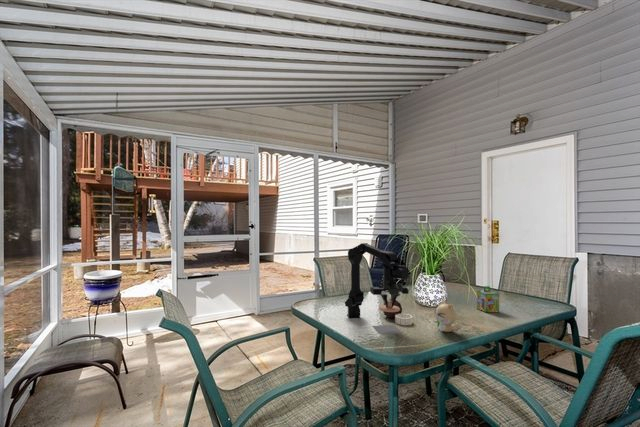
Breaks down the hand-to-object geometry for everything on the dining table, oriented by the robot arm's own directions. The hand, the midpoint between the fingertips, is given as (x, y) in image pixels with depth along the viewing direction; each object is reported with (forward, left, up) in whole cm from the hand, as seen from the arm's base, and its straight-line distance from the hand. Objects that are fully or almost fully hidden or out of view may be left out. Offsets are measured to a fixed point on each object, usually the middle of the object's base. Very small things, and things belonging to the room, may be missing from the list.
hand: (389, 307), depth 161 cm
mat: (-2, -1, -11) cm, 12 cm away
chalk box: (+72, +22, -12) cm, 76 cm away
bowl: (+11, +8, -11) cm, 18 cm away
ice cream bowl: (+12, +25, -7) cm, 29 cm away
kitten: (+27, -6, -12) cm, 30 cm away
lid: (0, 0, -1) cm, 1 cm away
